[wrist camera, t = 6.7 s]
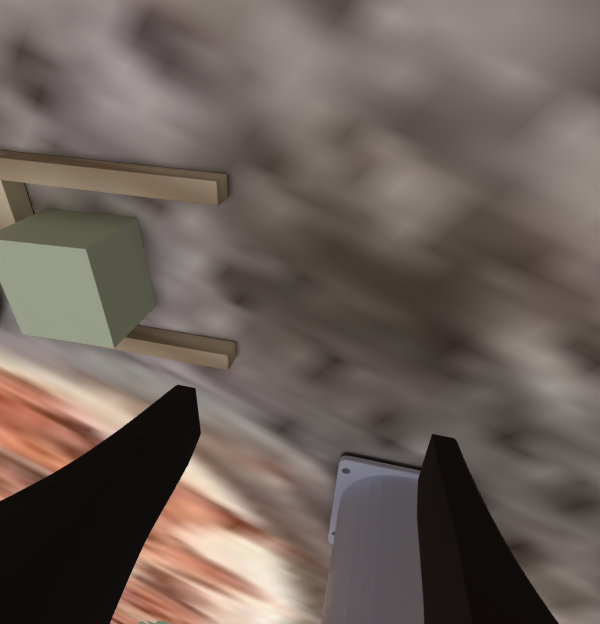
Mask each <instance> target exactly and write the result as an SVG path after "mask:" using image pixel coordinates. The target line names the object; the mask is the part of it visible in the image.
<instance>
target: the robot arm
mask: <svg viewBox="0 0 600 624" xmlns="http://www.w3.org/2000/svg"><path fill="white" fill-rule="evenodd" d="M200 434H201V431H200V422H199V414H198V406H197V397H196V389H195V388H192V387H186V386H181V385H176V386H175V387H174V388H172V389H171V390H170V391H168V392H167V393H166V394H165V395H163V396H162V397H161V398H160V399H158V400H157V401H156V402H155V403H153V404H152V405H151V406H150V407H148V408H147V409H146V410H144V411H143V412H142V413H141V414H139V415H138V416H137V417H135V418H134V419H133V420H131V421H130V422H129V423H127V424H126V425H125V426H124V427H122V428H121V429H120V430H118V431H117V432H115V433H114V434H113V435H111V436H110V437H108V438H107V439H106V440H104V441H103V442H101V443H100V444H98V445H97V446H96V447H94V448H93V449H91V450H90V451H88V452H87V453H85V454H84V455H82V456H81V457H79V458H78V459H76V460H74V461H73V462H71V463H70V464H68V465H66V466H65V467H63V468H61V469H60V470H58V471H56V472H55V473H53V474H51V475H49V476H48V477H46V478H44V479H42V480H40V481H38V482H36V483H34V484H33V485H31V486H29V487H27V488H25V489H23V490H21V491H19V492H17V493H16V494H14V495H12V496H10V497H8V498H6V499H4V500H1V501H0V624H110V622H111V619H112V616H113V614H114V612H115V609H116V607H117V604H118V602H119V600H120V597H121V595H122V593H123V590H124V588H125V586H126V583H127V581H128V579H129V576H130V574H131V572H132V570H133V567H134V565H135V563H136V561H137V559H138V556H139V554H140V552H141V550H142V547H143V545H144V543H145V541H146V539H147V537H148V535H149V533H150V532H151V530H152V528H153V526H154V524H155V523H156V521H157V519H158V517H159V515H160V514H161V512H162V510H163V508H164V507H165V505H166V503H167V501H168V500H169V498H170V496H171V494H172V492H173V491H174V489H175V487H176V485H177V484H178V482H179V480H180V478H181V476H182V475H183V473H184V471H185V469H186V467H187V465H188V463H189V461H190V459H191V456H192V454H193V452H194V449H195V447H196V444H197V442H198V439H199V437H200ZM346 468H347V469H346ZM328 542H329V543H330V544H332V545H333V549H332V556H331V562H330V569H329V576H328V582H327V589H326V596H325V602H324V609H323V616H322V623H321V624H559V623H558V622H557V621H556V619H555V618H554V617H553V615H552V614H551V612H550V611H549V609H548V608H547V606H546V605H545V604H544V602H543V601H542V599H541V598H540V596H539V595H538V593H537V592H536V590H535V589H534V587H533V586H532V584H531V583H530V581H529V580H528V578H527V577H526V575H525V574H524V572H523V570H522V569H521V567H520V566H519V564H518V562H517V561H516V559H515V557H514V556H513V554H512V552H511V551H510V549H509V547H508V545H507V544H506V542H505V540H504V538H503V537H502V535H501V533H500V532H499V530H498V528H497V526H496V524H495V522H494V520H493V519H492V517H491V515H490V513H489V511H488V509H487V507H486V505H485V503H484V501H483V499H482V497H481V495H480V493H479V491H478V489H477V487H476V485H475V483H474V480H473V478H472V476H471V474H470V472H469V469H468V467H467V465H466V462H465V460H464V458H463V455H462V453H461V450H460V448H459V445H458V443H457V441H456V440H455V438H450V437H445V436H440V435H435V434H432V436H431V440H430V443H429V446H428V449H427V452H426V455H425V459H424V462H423V465H422V468H421V471H420V470H415V469H410V468H406V467H401V466H396V465H391V464H386V463H381V462H377V461H372V460H367V459H362V458H357V457H352V456H342V457H341V458H340V460H339V466H338V473H337V480H336V487H335V493H334V500H333V507H332V514H331V520H330V527H329V534H328Z"/></svg>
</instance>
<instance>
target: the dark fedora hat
mask: <svg viewBox="0 0 600 624" xmlns="http://www.w3.org/2000/svg"><path fill="white" fill-rule="evenodd" d="M148 623H150V624H155V623H151V622H149V621H148ZM157 623H158V624H169V623H167V622H159V621H157ZM157 623H156V624H157ZM140 624H146V623H144V622H140Z"/></svg>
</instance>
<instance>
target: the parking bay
mask: <svg viewBox="0 0 600 624" xmlns="http://www.w3.org/2000/svg"><path fill="white" fill-rule="evenodd" d="M24 183H31V184H40V185H48V186H56V187H65V188H73V189H82V190H90V191H99V192H107V193H115V194H124V195H132V196H141V197H149V198H158V199H166V200H175V201H183V202H191V203H200V204H208V205H217V206H218V205H219V204H221V203H222V202H223V201H224V200H225V199H227V198H228V185H227V174H221V173H211V172H202V171H192V170H183V169H174V168H164V167H155V166H145V165H136V164H126V163H117V162H107V161H98V160H89V159H79V158H70V157H60V156H51V155H41V154H32V153H22V152H13V151H3V150H0V229H3V228H5V227H7V226H9V225H12V224H14V223H16V222H18V221H21V220H23V219H25V218H27V217H30V216H32V215H34V214H33V211H32V208H31V204H30V201H29V198H28V195H27V192H26V188H25V185H24ZM77 343H78V342H77ZM83 344H84V343H83ZM88 345H91V344H88ZM94 346H97V345H94ZM99 347H104V346H99ZM104 348H110V347H104ZM110 349H115V350H121V351H126V352H132V353H137V354H143V355H148V356H154V357H159V358H165V359H170V360H176V361H181V362H187V363H192V364H198V365H203V366H209V367H214V368H220V369H225V370H229V368H230V366H231V365H232V363H233V361H234V359H235V357H236V346H235V342H232V341H226V340H220V339H214V338H208V337H202V336H197V335H191V334H185V333H179V332H173V331H167V330H162V329H156V328H150V327H144V326H138V325H137V326H136V327H135V328H134V329H133V330H132V331H131V332H130V333H129V334H128V335H127V336H126V337H125V338H124V339H123V340H122V341H121V342H120V343H119V344H118V345H117V346H116V347H115V348H110Z"/></svg>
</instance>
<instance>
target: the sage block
mask: <svg viewBox="0 0 600 624" xmlns="http://www.w3.org/2000/svg"><path fill="white" fill-rule="evenodd" d="M0 283H1V285H2V287H3V290H4V292H5V294H6V297H7V299H8V301H9V304H10V306H11V308H12V311H13V313H14V315H15V318H16V320H17V322H18V325H19V327H20V329H21V332H22V334H25V335H32V336H38V337H45V338H51V339H58V340H64V341H71V342H78V343H84V344H91V345H97V346H104V347H110V348H115V347H116V346H117V345H118V344H119V343H120V342H121V341H122V340H123V339H124V338H125V337H126V336H127V335H128V334H129V333H130V332H131V331H132V330H133V329H134V328H135V327H136V326H137V325H138V324H139V323H140V322H141V320H142V319H143V318H144V317H145V316H146V315H147V314H148V313H149V312H150V311H151V310H152V309H153V308H154V307H155V306H156V305H155V300H154V295H153V290H152V285H151V280H150V276H149V271H148V266H147V261H146V256H145V251H144V247H143V242H142V237H141V232H140V227H139V222H138V218H137V217H131V216H120V215H109V214H98V213H87V212H75V211H64V210H53V209H45V210H43V211H41V212H39V213H36V214H34V215H32V216H30V217H27V218H25V219H23V220H21V221H18V222H16V223H14V224H12V225H9V226H7V227H5V228H3V229H0Z"/></svg>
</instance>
